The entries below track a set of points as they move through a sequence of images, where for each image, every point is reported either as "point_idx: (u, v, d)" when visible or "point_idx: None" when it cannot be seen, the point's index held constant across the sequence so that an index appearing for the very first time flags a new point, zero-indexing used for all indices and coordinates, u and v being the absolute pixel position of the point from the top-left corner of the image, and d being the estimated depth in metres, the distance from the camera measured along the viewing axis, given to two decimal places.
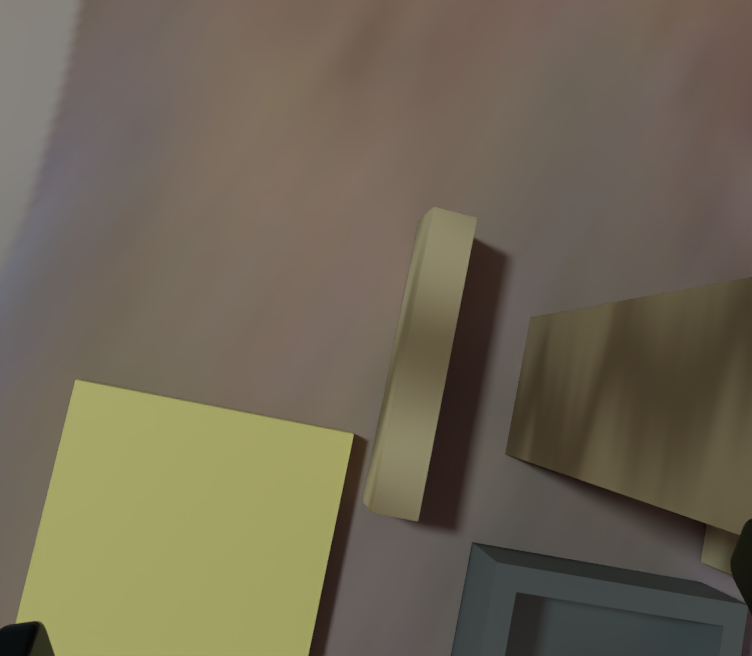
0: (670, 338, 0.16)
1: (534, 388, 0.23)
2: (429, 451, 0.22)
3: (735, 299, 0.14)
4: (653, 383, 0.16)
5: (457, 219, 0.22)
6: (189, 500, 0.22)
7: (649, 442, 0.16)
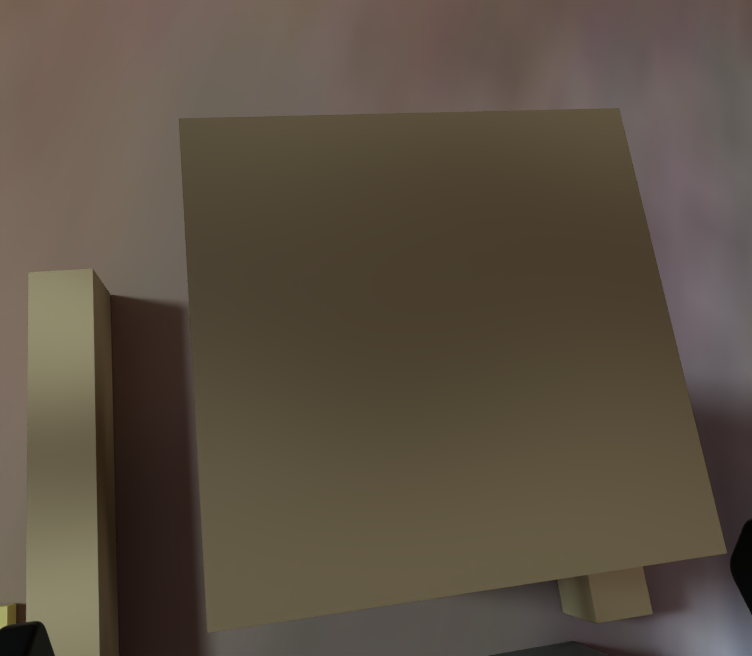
0: None
1: None
2: (94, 597, 0.15)
3: None
4: None
5: (65, 278, 0.17)
6: None
7: None
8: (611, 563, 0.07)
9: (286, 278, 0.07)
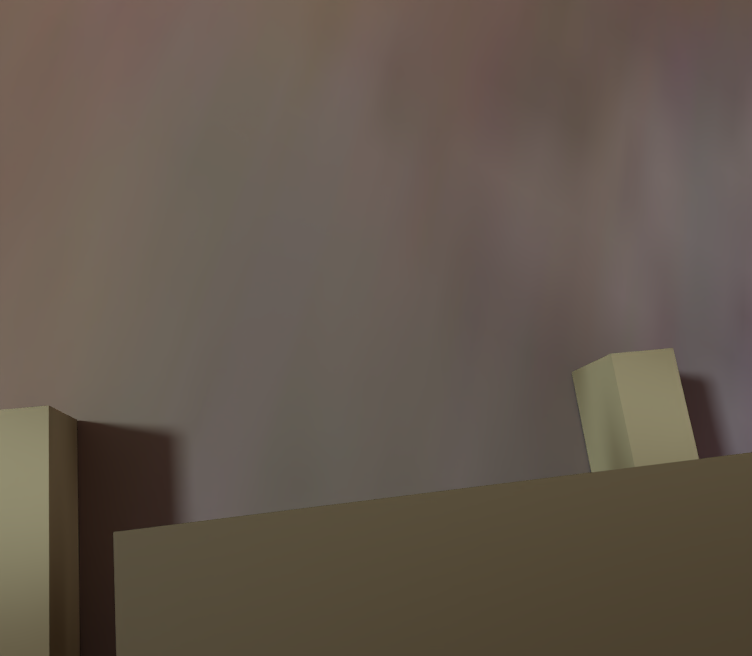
0: None
1: None
2: None
3: None
4: None
5: (11, 420, 0.13)
6: None
7: None
8: None
9: None
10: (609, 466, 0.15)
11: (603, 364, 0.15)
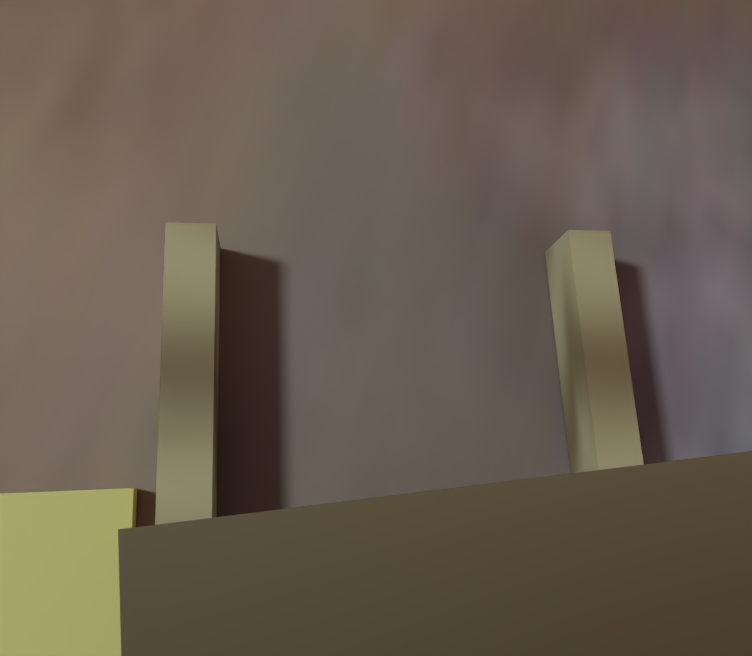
0: None
1: None
2: (209, 482, 0.19)
3: None
4: None
5: (194, 229, 0.21)
6: None
7: None
8: None
9: None
10: (563, 306, 0.23)
11: (563, 238, 0.23)
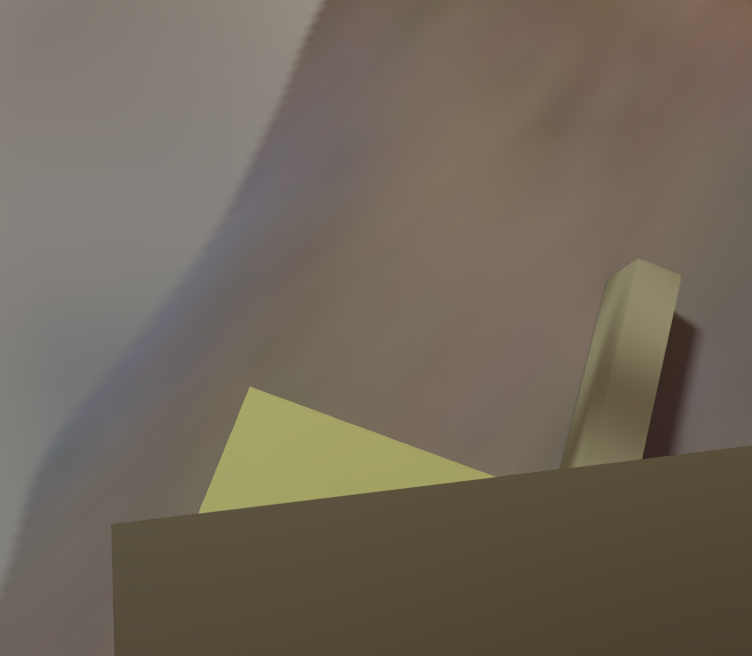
0: None
1: None
2: None
3: None
4: None
5: (661, 273, 0.21)
6: None
7: None
8: None
9: None
10: None
11: None
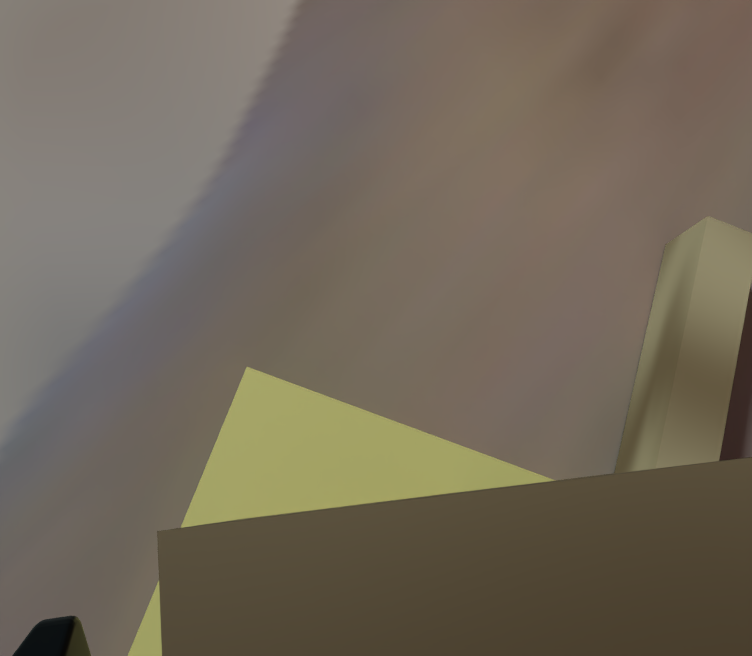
0: None
1: None
2: None
3: None
4: None
5: (735, 234, 0.18)
6: None
7: None
8: None
9: None
10: None
11: None
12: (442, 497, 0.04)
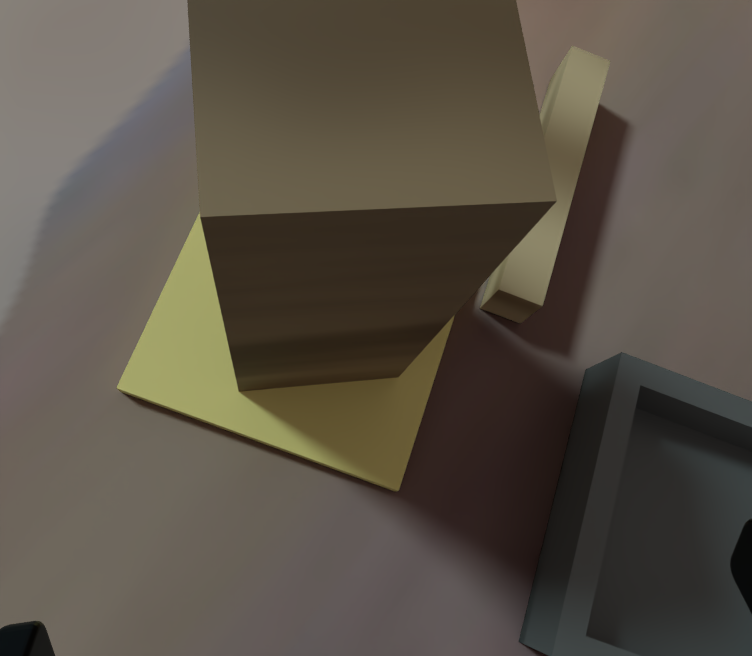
0: None
1: None
2: (557, 244, 0.22)
3: None
4: None
5: (592, 59, 0.25)
6: None
7: None
8: (474, 199, 0.10)
9: (256, 14, 0.10)
10: None
11: None
12: None
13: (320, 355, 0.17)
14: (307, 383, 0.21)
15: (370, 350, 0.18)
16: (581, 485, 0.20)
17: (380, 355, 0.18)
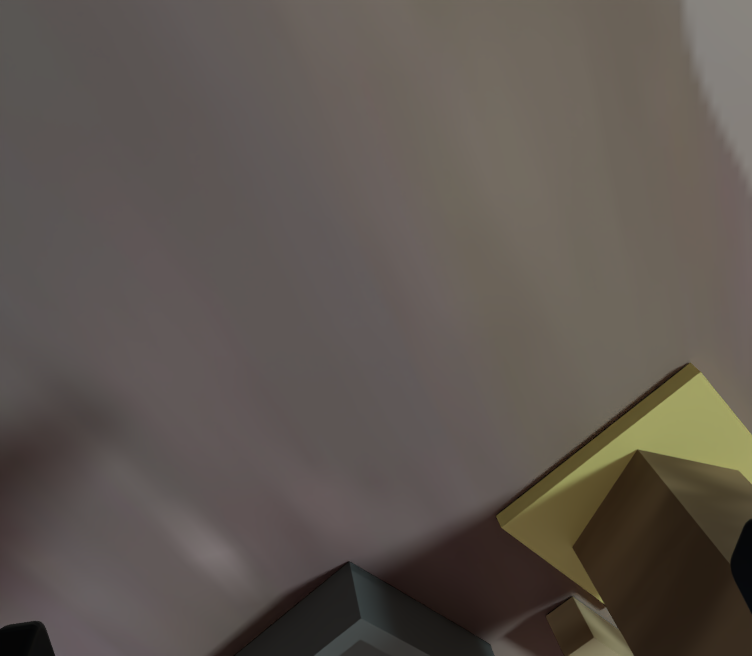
0: None
1: (712, 487, 0.24)
2: None
3: None
4: None
5: None
6: None
7: None
8: None
9: None
10: None
11: None
12: None
13: (665, 580, 0.22)
14: (612, 497, 0.25)
15: (646, 607, 0.23)
16: (442, 649, 0.26)
17: (630, 598, 0.23)
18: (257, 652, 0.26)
